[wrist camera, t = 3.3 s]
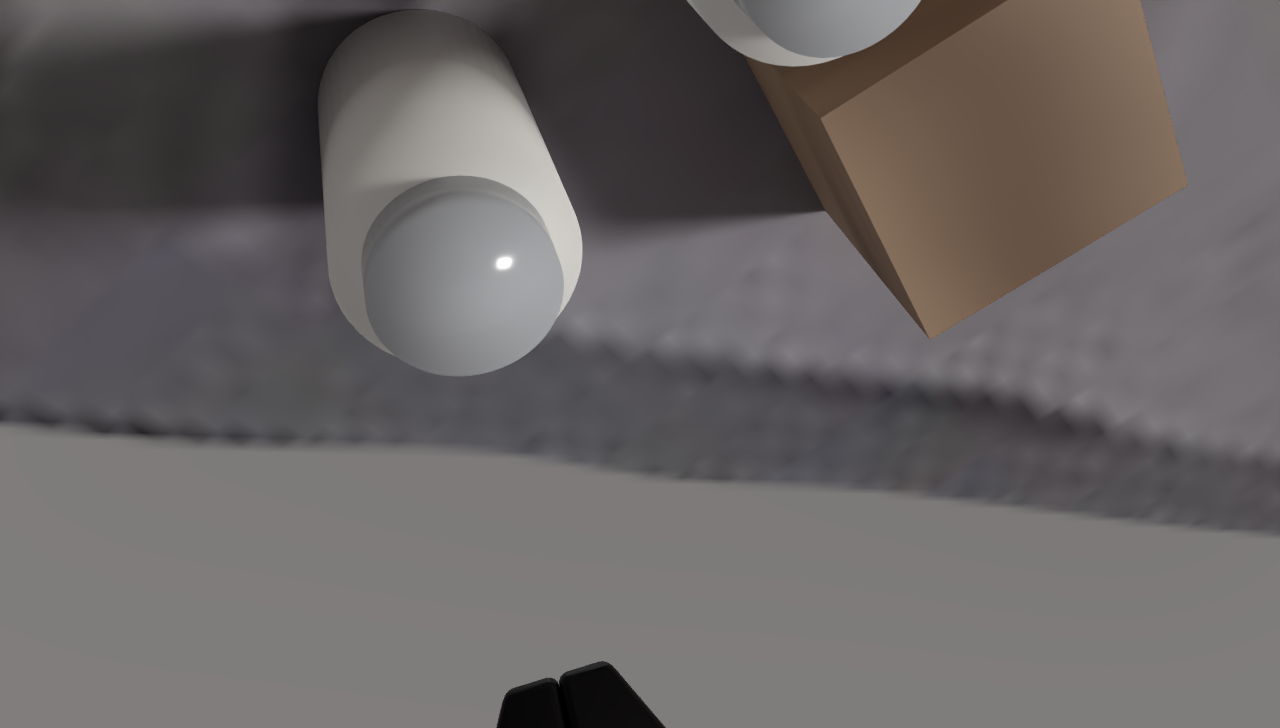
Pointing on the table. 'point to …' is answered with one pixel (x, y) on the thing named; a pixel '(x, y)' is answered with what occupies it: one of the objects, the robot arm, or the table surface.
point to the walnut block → (982, 143)
